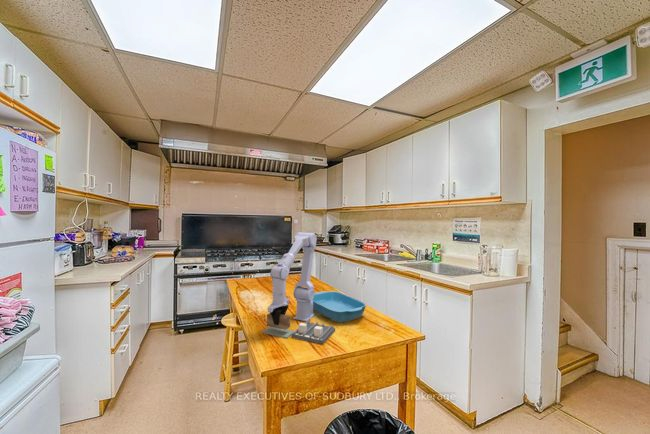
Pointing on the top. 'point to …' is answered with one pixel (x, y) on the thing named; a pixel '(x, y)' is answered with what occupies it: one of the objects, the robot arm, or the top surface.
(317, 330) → the switch tab
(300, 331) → the switch tab
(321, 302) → the casserole dish
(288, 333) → the mat
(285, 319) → the brown rectangular block
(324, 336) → the switch panel
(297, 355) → the top surface
